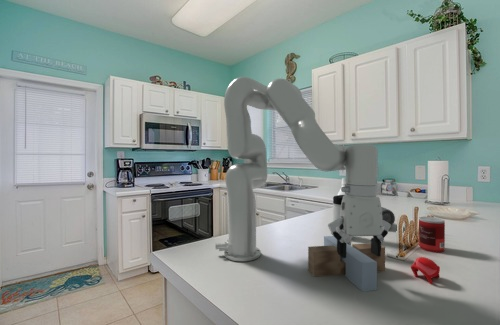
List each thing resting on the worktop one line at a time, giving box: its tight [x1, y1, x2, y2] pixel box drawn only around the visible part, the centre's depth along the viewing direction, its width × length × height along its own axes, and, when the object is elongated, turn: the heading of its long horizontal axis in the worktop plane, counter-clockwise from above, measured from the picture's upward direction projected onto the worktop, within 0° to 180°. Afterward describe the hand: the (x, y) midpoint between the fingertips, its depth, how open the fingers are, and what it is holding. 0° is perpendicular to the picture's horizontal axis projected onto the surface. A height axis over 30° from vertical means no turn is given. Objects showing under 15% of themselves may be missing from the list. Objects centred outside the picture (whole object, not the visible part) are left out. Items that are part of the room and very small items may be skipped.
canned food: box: [418, 216, 446, 253], centre depth 91 cm, size 8×8×11 cm
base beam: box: [307, 242, 386, 277], centre depth 73 cm, size 22×4×7 cm, turn 98°
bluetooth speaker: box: [381, 206, 396, 227], centre depth 127 cm, size 23×9×10 cm, turn 6°
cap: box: [410, 256, 441, 285], centre depth 68 cm, size 8×6×6 cm
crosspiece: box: [323, 235, 378, 292], centre depth 73 cm, size 22×4×7 cm, turn 8°
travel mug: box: [332, 194, 352, 246], centre depth 91 cm, size 6×7×20 cm
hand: (358, 255), depth 66 cm, fingers open, 9 cm apart
